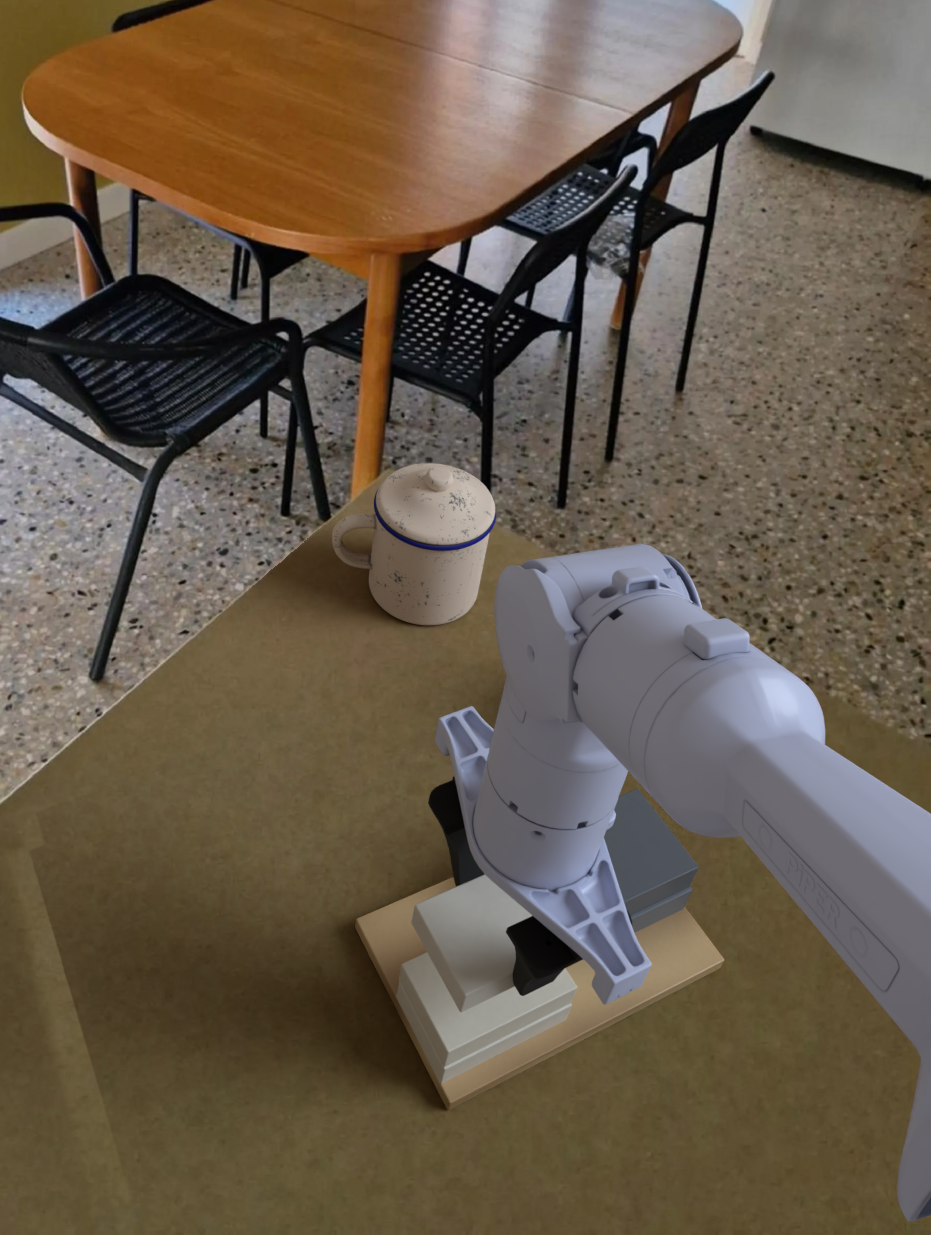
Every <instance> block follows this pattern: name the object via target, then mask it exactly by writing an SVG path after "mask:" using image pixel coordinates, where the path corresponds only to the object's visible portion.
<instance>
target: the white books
mask: <svg viewBox="0 0 931 1235" xmlns="http://www.w3.org/2000/svg"><path fill="white" fill-rule="evenodd" d="M576 990H577V986H576V984H575V983H574V981H573V980H572V978H571V976H570V975H569V973H568V972H567V970H566V969H564V970H563V971H562V972H561V973H560V974H559V975H558V976H557V978H556V979H555V980H554V981H553V982H551V983H549V984H547V985H545V986H543V987H541V988H539V989H537V990H535V991H533V992H531V993H529V994H527V995H525V996H521V995H520V994H519V993H518V991H517V989H516V988H515V987H513V988H510V989H508V990H506V991H504V992H502V993H500V994H498V995H496V996H494V997H492V998H490V999H488V1000H486V1001H484V1002H482V1003H480V1004H478V1005H476V1006H474V1007H471V1008H469V1009H467V1010H465V1011H463V1012H460V1011H459V1009H458V1008H457V1006H456V1004H455V1002H454V1000H453V998H452V997H451V995H450V993H449V991H448V989H447V987H446V986H445V984H444V982H443V980H442V978H441V976H440V975H439V973H438V971H437V969H436V967H435V965H434V964H433V962H432V960H431V958H430V956H429V954H428V953H424V954H422V955H420V956H418V957H416V958H413V959H411V960H409V961H407V962H405V963H403V964H402V965H401V970H400V975H399V985H398V990H397V995H396V998H397V1000H398V1002H399V1004H400V1006H401V1008H402V1010H403V1012H404V1014H405V1016H406V1018H407V1020H408V1021H409V1023H410V1025H411V1027H412V1029H413V1031H414V1033H415V1035H416V1037H417V1039H418V1041H419V1043H420V1045H421V1047H422V1049H423V1051H424V1053H425V1055H426V1057H427V1059H428V1061H429V1063H430V1065H431V1067H432V1069H433V1071H434V1073H435V1074H436V1076H437V1078H438V1080H439V1082H440V1084H442V1083H444V1082H446V1081H448V1080H450V1079H452V1078H454V1077H456V1076H458V1075H460V1074H462V1073H464V1072H465V1071H467V1070H469V1069H471V1068H473V1067H475V1066H477V1065H479V1064H481V1063H483V1062H485V1061H487V1060H489V1059H491V1058H493V1057H495V1056H497V1055H499V1054H501V1053H503V1052H505V1051H506V1050H508V1049H510V1048H512V1047H514V1046H516V1045H518V1044H520V1043H522V1042H524V1041H526V1040H528V1039H530V1038H532V1037H534V1036H536V1035H538V1034H540V1033H542V1032H544V1031H546V1030H548V1029H549V1028H551V1027H553V1026H555V1025H557V1024H559V1023H561V1022H563V1021H565V1020H566V1019H567V1016H568V1014H569V1011H570V1009H571V1006H572V1004H571V1002H572V999H573V997H574V994H575V992H576Z"/></svg>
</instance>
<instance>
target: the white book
mask: <svg viewBox="0 0 931 1235" xmlns="http://www.w3.org/2000/svg"><path fill="white" fill-rule="evenodd" d="M531 916H532V915H531V914H530V913H529V912H528V911H527V910H525V909H524V908H523V907H522V906H521V905H520V904H518V903H517V902H516V901H515V900H514V899H512V898H511V897H510V896H509V895H508V894H507V893H505V892H504V891H503V890H502V889H501V888H500V887H498V886H497V885H496V884H495V883H494V882H492V881H491V880H490V879H489V878H488V877H487V876H486V875H485V874H484V875H482V876H480V877H477V878H475V879H473V880H471V881H468V882H466V883H464V884H461V885H459V886H457V887H454V888H452V889H450V890H448V891H445V892H443V893H441V894H438V895H436V896H434V897H432V898H429V899H427V900H425V901H422V902H420V903H418V904H416V905H415V906H414V911H413V917H412V922H411V923H412V925H413V927H414V929H415V931H416V932H417V934H418V936H419V938H420V940H421V942H422V943H423V945H424V947H425V949H426V951H427V953H428V954H429V956H430V958H431V960H432V962H433V964H434V965H435V967H436V969H437V971H438V973H439V975H440V976H441V978H442V980H443V982H444V984H445V986H446V987H447V989H448V991H449V993H450V995H451V997H452V998H453V1000H454V1002H455V1004H456V1006H457V1008H458V1009H459V1011H460V1012H463V1011H465V1010H467V1009H469V1008H471V1007H474V1006H476V1005H478V1004H480V1003H482V1002H484V1001H486V1000H488V999H490V998H492V997H494V996H496V995H498V994H500V993H502V992H504V991H506V990H508V989H510V988H513V987H515V986H514V983H513V969H514V965H515V961H516V951H515V946H514V945H513V943H512V941H511V940H510V938H509V937H508V935H507V933H506V930H507V928H508V927H509V926H512V925H514V924H516V923H518V922H520V921H522V920H525V919H527V918H529V917H531Z"/></svg>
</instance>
